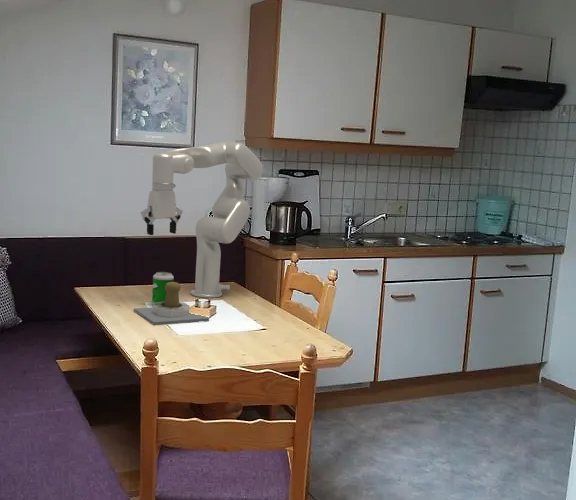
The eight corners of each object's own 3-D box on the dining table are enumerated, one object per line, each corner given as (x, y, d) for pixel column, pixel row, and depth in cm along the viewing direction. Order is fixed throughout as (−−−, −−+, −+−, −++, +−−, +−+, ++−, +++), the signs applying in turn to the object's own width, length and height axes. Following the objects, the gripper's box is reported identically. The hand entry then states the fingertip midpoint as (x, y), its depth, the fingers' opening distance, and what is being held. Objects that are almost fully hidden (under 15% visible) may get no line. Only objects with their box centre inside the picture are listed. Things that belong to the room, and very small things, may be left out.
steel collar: (179, 308, 256) (180, 300, 256) (192, 316, 246) (193, 307, 246) (149, 310, 250) (149, 302, 250) (161, 318, 240) (161, 309, 240)
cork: (181, 311, 251) (183, 281, 250) (178, 315, 245) (180, 284, 244) (164, 310, 251) (165, 280, 250) (161, 314, 245) (162, 283, 244)
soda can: (174, 304, 267) (176, 272, 265) (169, 308, 259) (170, 276, 258) (155, 302, 267) (156, 271, 266) (149, 306, 260) (150, 274, 258)
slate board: (186, 307, 262) (186, 305, 262) (208, 321, 245) (209, 318, 245) (133, 311, 252) (133, 308, 251) (153, 325, 235) (153, 322, 235)
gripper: (176, 186, 268) (175, 231, 270) (136, 186, 256) (135, 233, 259) (188, 188, 262) (186, 233, 265) (147, 189, 250) (146, 236, 253)
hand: (161, 233), depth 262 cm, fingers open, 9 cm apart
